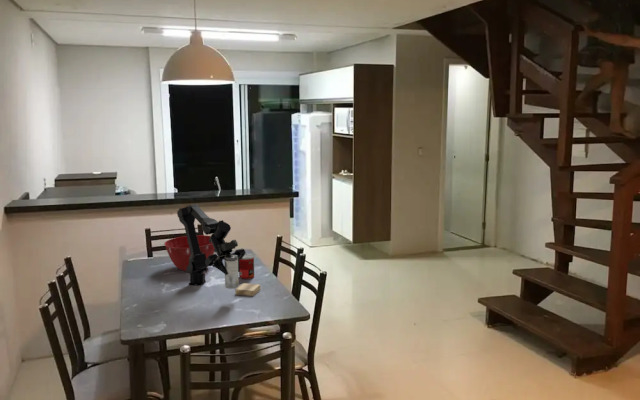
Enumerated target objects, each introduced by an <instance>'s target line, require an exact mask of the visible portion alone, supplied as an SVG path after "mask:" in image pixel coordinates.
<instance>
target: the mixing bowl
mask: <svg viewBox="0 0 640 400" xmlns="http://www.w3.org/2000/svg"><path fill="white" fill-rule="evenodd" d="M210 236H211V235H206V234H201V235H200V234H199V235H198V234H197V238H198V243H199V247H200V251H201V252H202V253H205V255H206V259H207V257H208V256H209V255H213V254H214V253H215V252H214V250H215V249H214V246H213V244H212V242H209V239H210ZM164 246H165V248H166V252H167V254H168V256H169V258H170V260H171V261H172V263H173V265H174V266H175V267H176V268H178V269H179V270H181V271H182V272H187V269H186V268H187V266H188V264H189V258H190V255H191V252H190V248H189V244H188V239H187V235H185V236H178V237H174V238H171V239H168V240H166V241H164Z"/></svg>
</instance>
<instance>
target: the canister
mask: <svg viewBox="0 0 640 400" xmlns="http://www.w3.org/2000/svg"><path fill="white" fill-rule="evenodd" d="M223 261H224V266H225V268H226V271H227V273H228V274H227V275H225V274H224V285H225V286H224V287H225V289H229V290H232V289H236V288H238V287H239V286H240V285H239V272H238V256H237V255H226V256H224V260H223Z"/></svg>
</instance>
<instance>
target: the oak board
mask: <svg viewBox="0 0 640 400" xmlns="http://www.w3.org/2000/svg"><path fill="white" fill-rule="evenodd" d="M234 289H235V295H240V296H252V297H254V296H255V295H256V294H257V293H258V292H260V291H261V284H259V283H258V284H255V283H241V284H240V285H239V286H238V287H237V288H234Z"/></svg>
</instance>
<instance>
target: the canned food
mask: <svg viewBox="0 0 640 400" xmlns="http://www.w3.org/2000/svg"><path fill="white" fill-rule="evenodd" d="M239 267H240V271H239V272H238V277H239V278H240V279H243V280H248V279H253V278H255V257H254V254H245V255H244V256H243V258H242V259H240V260H239Z"/></svg>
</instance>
